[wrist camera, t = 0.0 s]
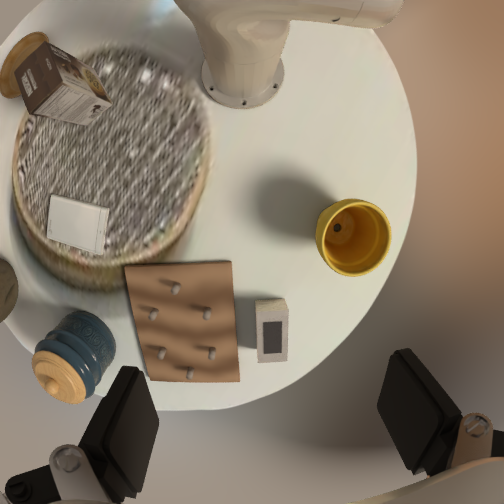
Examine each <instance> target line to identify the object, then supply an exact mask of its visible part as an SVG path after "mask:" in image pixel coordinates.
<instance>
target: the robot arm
mask: <svg viewBox="0 0 504 504" xmlns="http://www.w3.org/2000/svg"><path fill="white" fill-rule="evenodd" d="M174 1H175V3H176V4H177V5H178V7H179V8H180V9H181V10H182V11H183V13H184V14H185V15H186V16H187V17H188V18H189V19H190V20H191V21H192V23H193V25H194V27H195V29H196V32H197V34H198V37H199V40H200V43H201V46H202V49H203V52H204V55H205V59H204V62H203V65H202V70H201V77H202V82H203V85H204V87H205V89H206V91H207V92H208V94H209V95H210V96H211V97H212V98H213V99H214V100H215V101H217V102H218V103H220V104H222V105H224V106H227V107H230V108H235V109H249V108H255V107H258V106H261V105H263V104H265V103H266V102H268V101H269V100H271V99H272V98H273V97H274V96H275V95H276V94H277V92H278V91H279V89H280V87H281V85H282V83H283V79H284V66H283V62H282V60H281V58H280V57H281V54H282V51H283V48H284V46H285V43H286V40H287V37H288V34H289V29H290V21H291V20H300V21H312V22H322V23H330V24H337V25H345V26H351V27H358V28H379V27H382V26H385V25H387V24H388V23H390V22H391V21H392V20H393V19H394V18H395V17H396V16H397V14H398V13H399V11H400V9H401V7H402V4H403V2H404V0H174ZM273 86H276V88H273ZM212 88H213V91H211V90H210V89H212ZM243 103H245V104H246V105H242V104H243ZM377 409H378V412H379V414H380V416H381V418H382V419H383V422H384V423H385V426H386V428H387V429H388V432H389V433H390V436H391V438H392V439H393V442H394V443H395V446H396V448H397V450H398V452H399V454H400V456H401V458H402V460H403V462H404V464H405V466H406V468H407V469H408V470H411V471H412V473H413V475H416V474H419V473H421V472H424V471H426V473H427V478H426V479H424V480H422V481H419V482H416V483H414V484H411V485H408V486H405V487H402V488H400V489H397V490H394V491H391V492H388V493H384V494H382V495H378V496H374V497H371V498H367V499H364V500H360V501H355V502H351V503H347V504H504V432H502V431H498V430H493V424H492V422H491V420H490V419H489V418H488V417H487V416H485V415H484V414H481V413H469V414H467V415H465V416H464V417H463V416H462V415H461V411H460V410H459V409H458V407H457V406H456V405H455V403H454V402H453V401H452V399H451V398H450V397H449V396H448V394H447V393H446V392H445V391H444V389H443V388H442V387H441V386H440V384H439V383H438V382H437V381H436V380H435V378H434V377H433V376H432V374H431V373H430V372H429V371H428V370H427V368H426V367H425V366H424V365H423V363H422V362H421V361H420V360H419V359H418V358H417V356H416V355H415V354H414V353H413V352H412V350H411V349H409V348H405V349H401V350H396V351H395V352H394V354H393V355H391V356H390V359H389V364H388V368H387V371H386V375H385V379H384V382H383V386H382V389H381V393H380V396H379V399H378V403H377ZM158 427H159V418H158V415H157V412H156V410H155V407H154V404H153V401H152V398H151V395H150V392H149V389H148V386H147V382H146V379H145V376H144V373H143V371H139V369H138V367H133V366H122V367H121V369H120V371H119V373H118V374H117V376H116V378H115V380H114V382H113V384H112V385H111V387H110V389H109V391H108V393H107V395H106V396H105V397H103V398H102V400H101V402H100V403H99V406H98V407H97V409H96V411H95V413H94V415H93V417H92V419H91V421H90V423H89V425H88V427H87V429H86V431H85V433H84V435H83V437H82V439H81V441H80V443H79V445H78V446H75V445H69V444H66V445H62V446H59V447H57V448H56V449H55V450H54V451H53V452H52V453H51V455H50V458H49V465H46V466H43V467H40V468H37V469H35V470H32V471H28V472H25V473H22V474H19V475H16V476H13V477H11V478H10V479H9V480H8V482H7V483H6V487H5V493H2V492H1V491H0V504H123V501H124V499H125V497H130V498H136V494H137V492H141V491H142V487H143V483H144V479H145V475H146V472H147V468H148V464H149V460H150V456H151V453H152V449H153V445H154V442H155V438H156V434H157V431H158Z"/></svg>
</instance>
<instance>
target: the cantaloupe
mask: <svg viewBox="0 0 504 504" xmlns="http://www.w3.org/2000/svg"><path fill="white" fill-rule="evenodd" d="M17 297H18V281H17V277H16V274H15V272H14V270H13V268H12V267H11V265H10V264H9V263H7V262H6V261H4V260H2V259H0V322H2V321H3V320H5V319H6V318H7V316H8V315H9V314H10V313H11V311H12V310H13V308H14V306H15V304H16V301H17Z"/></svg>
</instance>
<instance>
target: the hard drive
mask: <svg viewBox="0 0 504 504" xmlns="http://www.w3.org/2000/svg"><path fill="white" fill-rule="evenodd" d="M108 213H109V208H107V207H103V206H99V205H95V204H91V203H88V202H84V201H80V200H76V199H72V198H68V197H64V196H60V195H56V194H52V195H51V199H50V207H49V216H48V227H47V238H49V239H52V240H55V241H58V242H61V243H64V244H67V245H70V246H73V247H76V248H79V249H82V250H86V251H89V252H92V253H96V254H99V255H102V254H103V248H104V240H105V233H106V226H107V219H108Z"/></svg>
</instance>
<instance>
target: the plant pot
mask: <svg viewBox="0 0 504 504" xmlns="http://www.w3.org/2000/svg"><path fill="white" fill-rule="evenodd" d="M336 224H339V225H340V230H339V231H334V226H335V225H336ZM390 244H391V227H390V223H389V221H388V219H387V217H386V215H385V214H384V212H383V211H382V210H381V209H380V208H379V207H377V206H376V205H374V204H372V203H370V202H367V201H364V200H360V199H345V200H341V201H338V202H336V203H335V204H333V205H332V206H330V207H328V208H326V209H325V210H324V211H323V212H322V213H321V214H320V216H319V218H318V220H317V229H316V245H317V248H318V251H319V253H320V255H321V257H322V258H323V260H324V261H325V262H326V263H327V265H328V266H329V267H330V268H331V269H332V270H334V271H335V272H337V273H339V274H341V275H344V276H350V277H356V276H361V275H365V274H367V273H369V272H371V271H373V270H374V269H375V268H377V267H378V266H379V265H380V264H381V263H382V261H383V260H384V258H385V257H386V255H387V253H388V251H389V248H390Z"/></svg>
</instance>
